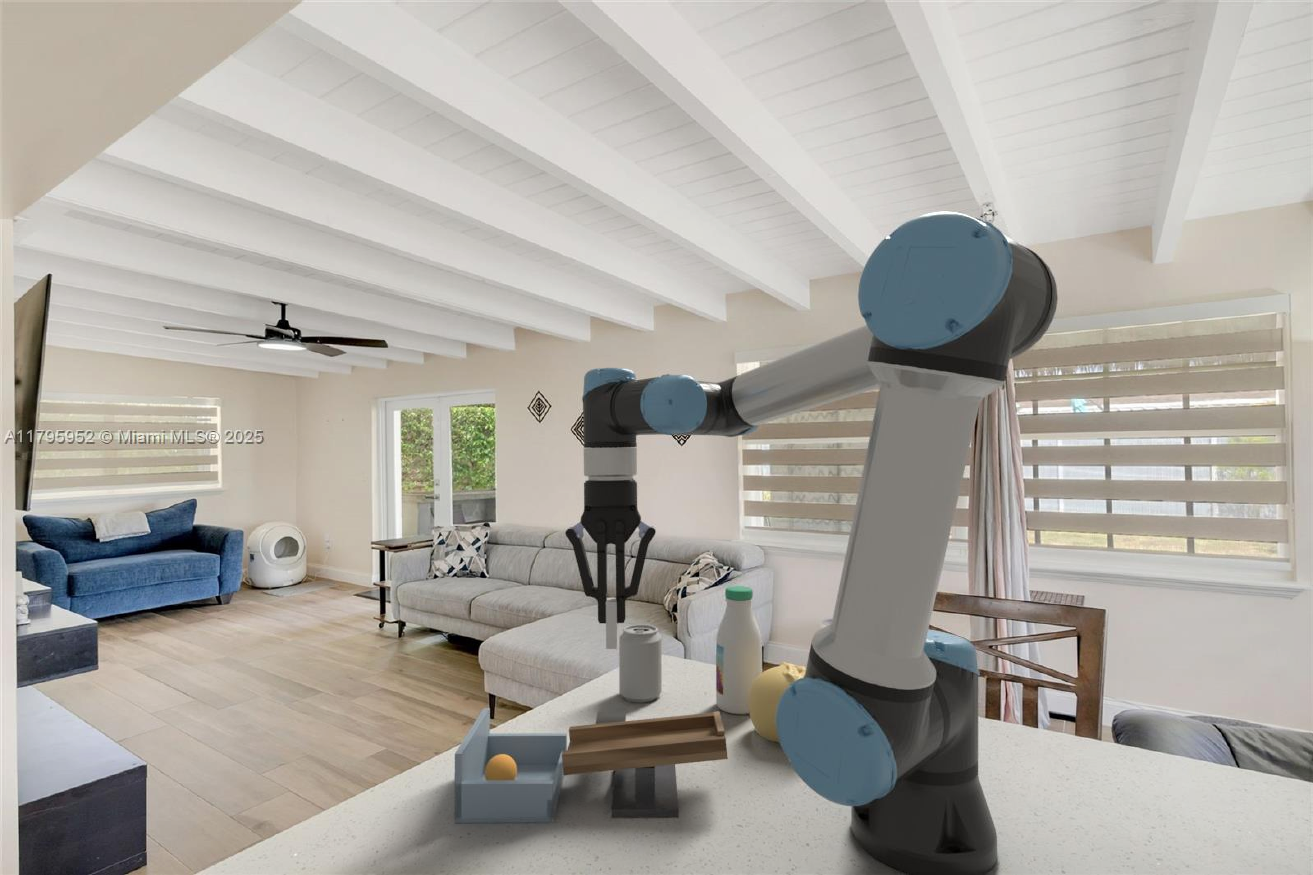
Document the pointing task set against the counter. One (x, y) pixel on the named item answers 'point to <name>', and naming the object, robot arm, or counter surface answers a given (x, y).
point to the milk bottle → (737, 652)
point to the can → (640, 663)
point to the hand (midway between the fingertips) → (612, 646)
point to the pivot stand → (645, 793)
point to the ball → (501, 768)
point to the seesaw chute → (643, 742)
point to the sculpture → (771, 697)
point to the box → (508, 798)
